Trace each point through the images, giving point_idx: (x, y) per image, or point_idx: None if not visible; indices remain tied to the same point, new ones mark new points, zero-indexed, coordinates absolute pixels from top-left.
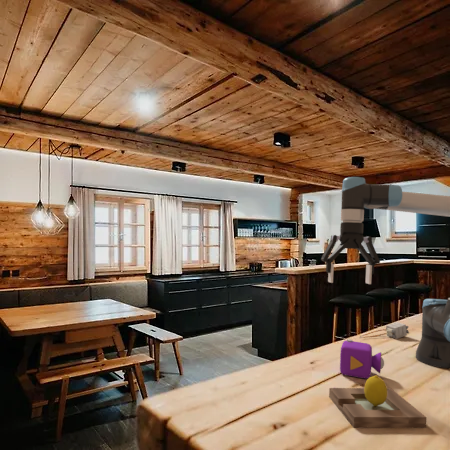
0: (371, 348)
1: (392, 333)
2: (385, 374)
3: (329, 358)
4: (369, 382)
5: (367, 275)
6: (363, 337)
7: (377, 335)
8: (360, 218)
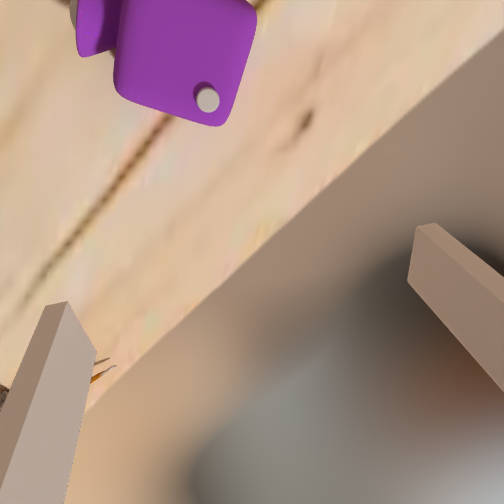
0: (117, 46)
1: None
2: (70, 51)
3: (241, 173)
4: None
5: (65, 397)
6: (102, 372)
7: None
8: None
